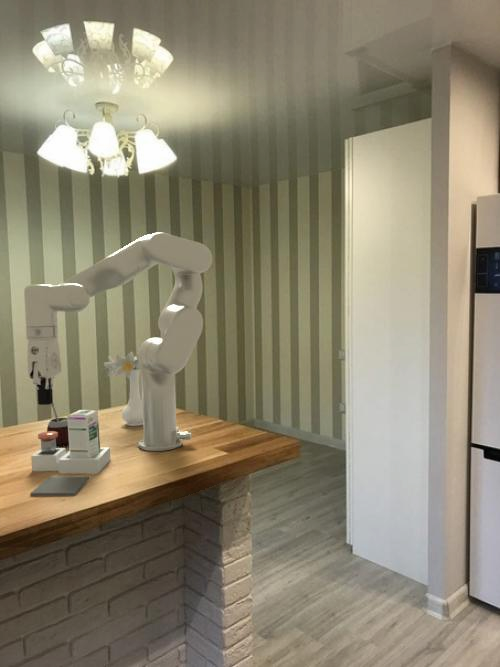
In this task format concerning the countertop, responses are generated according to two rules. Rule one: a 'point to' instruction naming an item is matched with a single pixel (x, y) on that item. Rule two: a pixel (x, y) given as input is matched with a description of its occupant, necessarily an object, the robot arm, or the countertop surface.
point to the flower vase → (134, 406)
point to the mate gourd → (59, 429)
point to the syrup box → (83, 434)
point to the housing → (70, 462)
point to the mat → (60, 486)
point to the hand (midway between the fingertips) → (45, 403)
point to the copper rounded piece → (48, 442)
